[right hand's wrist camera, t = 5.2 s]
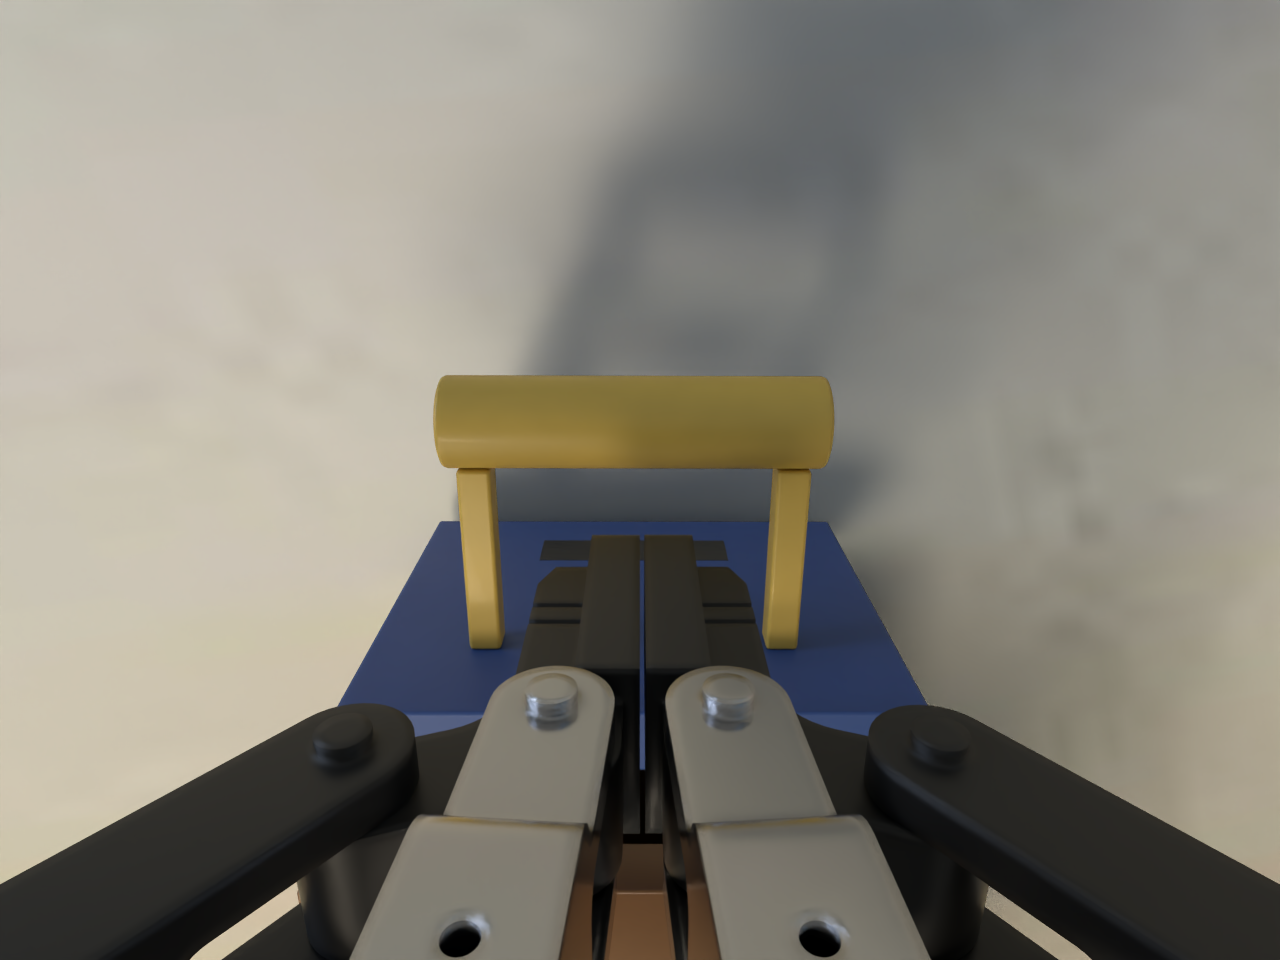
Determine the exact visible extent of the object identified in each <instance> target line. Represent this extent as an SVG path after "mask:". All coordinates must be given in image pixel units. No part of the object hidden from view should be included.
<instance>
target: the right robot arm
mask: <svg viewBox="0 0 1280 960" xmlns="http://www.w3.org/2000/svg"><path fill="white" fill-rule="evenodd" d="M644 720H645V833H663V898H664V906H665V914H666V923H667V931H668V939H669V947H670V955H671V960H1058V959H1057V958H1055V957H1054V956H1053V955H1051V954H1050V953H1048V952H1047V951H1046V950H1044V949H1043V948H1041V947H1040V946H1039V945H1037V944H1036V943H1034V942H1033V941H1032V940H1030V939H1029V938H1027V937H1026V936H1025V935H1023V934H1022V933H1020V932H1019V931H1018V930H1016V929H1015V928H1014V927H1012V926H1011V925H1009V924H1008V923H1007V922H1005V921H1004V920H1002V919H1001V918H1000V917H998V916H997V915H995V914H994V913H993V912H991V911H990V910H988V909H987V908H986V907H985V902H986V897H987V892H988V887H989V886H990V887H992V888H993V889H995V890H996V891H997V892H999V893H1000V894H1002V895H1003V896H1005V897H1006V898H1008V899H1009V900H1010V901H1012V902H1013V903H1015V904H1016V905H1018V906H1019V907H1021V908H1022V909H1023V910H1025V911H1026V912H1028V913H1029V914H1031V915H1032V916H1033V917H1035V918H1036V919H1038V920H1039V921H1041V922H1042V923H1044V924H1045V925H1046V926H1048V927H1049V928H1051V929H1052V930H1054V931H1055V932H1057V933H1058V934H1059V935H1061V936H1062V937H1064V938H1065V939H1067V940H1068V941H1069V942H1071V943H1072V944H1074V945H1075V946H1077V947H1078V948H1079V949H1081V950H1082V951H1083V952H1085V953H1086V954H1087V955H1088V956H1089V957H1090V958H1091V959H1092V960H1280V884H1278V883H1276V882H1274V881H1272V880H1271V879H1269V878H1267V877H1265V876H1263V875H1261V874H1260V873H1258V872H1256V871H1254V870H1252V869H1250V868H1248V867H1247V866H1245V865H1243V864H1241V863H1239V862H1237V861H1236V860H1234V859H1232V858H1230V857H1228V856H1226V855H1224V854H1223V853H1221V852H1219V851H1217V850H1215V849H1213V848H1212V847H1210V846H1208V845H1206V844H1204V843H1202V842H1200V841H1199V840H1197V839H1195V838H1193V837H1191V836H1189V835H1188V834H1186V833H1184V832H1182V831H1180V830H1178V829H1176V828H1175V827H1173V826H1171V825H1169V824H1167V823H1165V822H1164V821H1162V820H1160V819H1158V818H1156V817H1154V816H1152V815H1151V814H1149V813H1147V812H1145V811H1143V810H1141V809H1140V808H1138V807H1136V806H1134V805H1132V804H1130V803H1128V802H1127V801H1125V800H1123V799H1121V798H1119V797H1117V796H1116V795H1114V794H1112V793H1110V792H1108V791H1106V790H1104V789H1103V788H1101V787H1099V786H1097V785H1095V784H1093V783H1092V782H1090V781H1088V780H1086V779H1084V778H1082V777H1080V776H1079V775H1077V774H1075V773H1073V772H1071V771H1069V770H1068V769H1066V768H1064V767H1062V766H1060V765H1058V764H1056V763H1055V762H1053V761H1051V760H1049V759H1047V758H1045V757H1044V756H1042V755H1040V754H1038V753H1036V752H1034V751H1032V750H1031V749H1029V748H1027V747H1025V746H1023V745H1021V744H1020V743H1018V742H1016V741H1014V740H1012V739H1010V738H1008V737H1007V736H1005V735H1003V734H1001V733H999V732H997V731H996V730H994V729H992V728H990V727H988V726H986V725H984V724H983V723H981V722H979V721H977V720H975V719H973V718H971V717H969V716H967V715H964V714H962V713H959V712H956V711H953V710H950V709H946V708H942V707H936V706H930V705H906V706H899V707H896V708H892V709H889V710H887V711H885V712H883V713H881V714H880V715H879V716H878V717H876V718H875V720H874V721H873V722H872V723H871V726H870V729H869V733H868V736H865V735H861V734H856V733H851V732H847V731H842V730H837V729H833V728H830V727H826V726H823V725H820V724H817V723H814V722H812V721H810V720H808V719H806V718H804V717H802V716H800V715H798V714H797V713H796V712H795V710H794V707H793V705H792V702H791V700H790V698H789V696H788V694H787V692H786V691H785V690H784V689H783V688H782V686H780V685H779V684H778V683H777V682H776V681H774V680H773V679H771V677H770V674H769V670H768V666H767V662H766V658H765V654H764V650H763V646H762V642H761V638H760V634H759V630H758V627H757V624H756V619H755V615H754V611H753V607H752V603H751V599H750V595H749V591H748V587H747V584H746V583H745V582H744V581H743V580H742V579H741V578H740V577H739V576H738V575H737V574H736V573H734V572H733V571H732V570H731V569H730V568H729V567H697V564H696V557H695V550H694V543H693V536H692V535H644ZM623 834H640V535H592V538H591V545H590V553H589V560H588V567H555V568H554V569H553V570H552V571H551V572H550V573H549V574H548V575H547V576H546V577H545V578H543V579H542V580H541V581H540V582H539V583H538V585H537V589H536V593H535V597H534V601H533V607H532V610H531V614H530V618H529V624H528V626H527V630H526V634H525V638H524V642H523V646H522V651H521V655H520V659H519V663H518V667H517V671H516V675H514V676H512V677H511V678H509V679H507V680H506V681H504V682H503V683H502V684H501V685H500V686H498V688H497V689H496V690H495V691H494V692H493V694H492V696H491V698H490V700H489V702H488V705H487V707H486V710H485V712H484V715H483V717H482V718H481V719H479V720H477V721H475V722H472V723H470V724H467V725H464V726H461V727H457V728H454V729H450V730H445V731H441V732H436V733H431V734H427V735H422V736H418V737H415V731H414V727H413V724H412V722H411V720H410V719H409V718H408V717H407V716H406V715H405V714H404V713H403V712H401V711H399V710H397V709H395V708H393V707H390V706H386V705H382V704H375V703H358V704H349V705H343V706H338V707H335V708H331V709H328V710H325V711H322V712H319V713H317V714H315V715H313V716H311V717H309V718H307V719H305V720H303V721H301V722H299V723H297V724H296V725H294V726H292V727H290V728H288V729H286V730H284V731H283V732H281V733H279V734H277V735H275V736H273V737H272V738H270V739H268V740H266V741H264V742H262V743H260V744H259V745H257V746H255V747H253V748H251V749H249V750H248V751H246V752H244V753H242V754H240V755H238V756H236V757H235V758H233V759H231V760H229V761H227V762H225V763H224V764H222V765H220V766H218V767H216V768H214V769H212V770H211V771H209V772H207V773H205V774H203V775H201V776H200V777H198V778H196V779H194V780H192V781H190V782H188V783H187V784H185V785H183V786H181V787H179V788H177V789H176V790H174V791H172V792H170V793H168V794H166V795H164V796H163V797H161V798H159V799H157V800H155V801H153V802H152V803H150V804H148V805H146V806H144V807H142V808H140V809H139V810H137V811H135V812H133V813H131V814H129V815H128V816H126V817H124V818H122V819H120V820H118V821H116V822H115V823H113V824H111V825H109V826H107V827H105V828H104V829H102V830H100V831H98V832H96V833H94V834H92V835H91V836H89V837H87V838H85V839H83V840H81V841H80V842H78V843H76V844H74V845H72V846H70V847H68V848H67V849H65V850H63V851H61V852H59V853H57V854H56V855H54V856H52V857H50V858H48V859H46V860H44V861H43V862H41V863H39V864H37V865H35V866H33V867H32V868H30V869H28V870H26V871H24V872H22V873H20V874H19V875H17V876H15V877H13V878H11V879H9V880H8V881H6V882H4V883H2V884H0V960H190V959H191V958H192V956H193V955H195V954H196V953H197V952H198V951H199V950H200V949H201V948H202V947H204V946H205V945H206V944H208V943H209V942H211V941H212V940H213V939H215V938H216V937H218V936H219V935H221V934H222V933H224V932H225V931H226V930H228V929H229V928H231V927H232V926H234V925H235V924H236V923H238V922H239V921H241V920H242V919H244V918H245V917H247V916H248V915H249V914H251V913H252V912H254V911H255V910H257V909H258V908H260V907H261V906H262V905H264V904H265V903H267V902H268V901H270V900H271V899H272V898H274V897H275V896H277V895H278V894H280V893H281V892H283V891H284V890H285V889H287V888H288V887H290V886H291V885H293V884H294V883H295V882H297V885H298V890H299V895H300V901H301V903H300V904H299V905H297V906H296V907H294V908H293V909H292V910H290V911H289V912H287V913H286V914H285V915H283V916H282V917H280V918H279V919H278V920H276V921H275V922H273V923H272V924H271V925H269V926H268V927H267V928H265V929H264V930H262V931H261V932H260V933H258V934H257V935H255V936H254V937H253V938H251V939H250V940H248V941H247V942H246V943H244V944H243V945H241V946H240V947H239V948H237V949H236V950H234V951H233V952H232V953H230V954H229V955H228V956H226V957H225V958H223V959H222V960H609V955H610V947H611V939H612V931H613V923H614V914H615V906H616V898H617V872H618V871H619V868H620V865H621V862H622V854H623Z"/></svg>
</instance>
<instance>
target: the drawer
mask: <svg viewBox="0 0 1280 960" xmlns="http://www.w3.org/2000/svg"><path fill="white" fill-rule="evenodd" d="M433 425H434V439H435V446H436V450H437V454H438V457H439V460H440V462H441V464H442V465H443V466H444V467H447V468H459V469H458V471H457V473H456V477H457V490H458V502H459V515H460V521H442V522H440V523H439V525H438V527H437V528H436V530H435V532H434V534H433V536H432V537H431V539H430V541H429V543H428V545H427V546H426V548H425V550H424V552H423V554H422V555H421V557H420V559H419V561H418V563H417V564H416V566H415V568H414V570H413V572H412V573H411V575H410V577H409V579H408V581H407V582H406V584H405V586H404V588H403V590H402V591H401V593H400V595H399V597H398V599H397V600H396V602H395V604H394V606H393V608H392V609H391V611H390V613H389V615H388V616H387V618H386V620H385V622H384V624H383V625H382V627H381V629H380V631H379V633H378V634H377V636H376V638H375V640H374V642H373V643H372V645H371V647H370V649H369V651H368V652H367V654H366V656H365V658H364V660H363V661H362V663H361V665H360V667H359V669H358V670H357V672H356V674H355V676H354V678H353V679H352V681H351V683H350V685H349V687H348V688H347V690H346V692H345V694H344V696H343V697H342V699H341V701H340V703H339V705H338V706H343V705H349V704H358V703H375V704H382V705H386V706H390V707H393V708H395V709H397V710H399V711H401V712H403V713H404V714H405V715H406V716H407V717H408V718H409V719H410V720H411V722H412V724H413V727H414V731H415V737H418V736H422V735H427V734H431V733H436V732H441V731H445V730H450V729H454V728H457V727H461V726H464V725H467V724H470V723H472V722H475V721H477V720H479V719H481V718H482V717H483V715H484V712H485V710H486V707H487V705H488V702H489V700H490V698H491V696H492V694H493V692H494V691H495V690H496V689H497V688H498V686H500V685H501V684H502V683H503V682H504V681H506V680H507V679H509V678H511V677H512V676H514V675H516V671H517V667H518V663H519V659H520V655H521V651H522V646H523V642H524V638H525V634H526V630H527V626H528V624H529V618H530V614H531V610H532V607H533V601H534V597H535V593H536V589H537V585H538V583H539V582H540V581H541V580H542V579H543V578H545V577H546V576H547V575H548V574H549V573H550V572H551V571H552V570H553V569H554V568H555V567H588V560H589V553H590V545H591V538H592V535H640V834H623V844H663V833H645V720H644V535H692V536H693V543H694V550H695V557H696V564H697V567H729V568H730V569H731V570H732V571H733V572H734V573H736V574H737V575H738V576H739V577H740V578H741V579H742V580H743V581H744V582H745V583H746V584H747V587H748V591H749V595H750V599H751V603H752V607H753V611H754V615H755V619H756V624H757V627H758V630H759V634H760V638H761V642H762V646H763V650H764V654H765V658H766V662H767V666H768V670H769V674H770V677H771V679H773V680H774V681H776V682H777V683H778V684H779V685H780V686H782V688H783V689H784V690H785V691H786V692H787V694H788V696H789V698H790V700H791V702H792V705H793V707H794V710H795V712H796V713H797V714H798V715H800V716H802V717H804V718H806V719H808V720H810V721H812V722H814V723H817V724H820V725H823V726H826V727H830V728H833V729H837V730H842V731H847V732H851V733H856V734H861V735H865V736H868V733H869V729H870V726H871V723H872V722H873V721H874V720H875V718H876V717H878V716H879V715H880V714H881V713H883V712H885V711H887V710H889V709H892V708H896V707H899V706H906V705H927V703H926V701H925V699H924V698H923V696H922V694H921V692H920V690H919V689H918V687H917V685H916V683H915V681H914V679H913V678H912V676H911V674H910V672H909V670H908V668H907V667H906V665H905V663H904V661H903V659H902V658H901V656H900V654H899V652H898V650H897V648H896V647H895V645H894V643H893V641H892V639H891V637H890V636H889V634H888V632H887V630H886V628H885V627H884V625H883V623H882V621H881V619H880V617H879V616H878V614H877V612H876V610H875V608H874V607H873V605H872V603H871V601H870V599H869V597H868V596H867V594H866V592H865V590H864V588H863V586H862V585H861V583H860V581H859V579H858V577H857V576H856V574H855V572H854V570H853V568H852V566H851V565H850V563H849V561H848V559H847V557H846V555H845V554H844V552H843V550H842V548H841V546H840V545H839V543H838V541H837V539H836V537H835V535H834V534H833V532H832V530H831V528H830V526H829V525H828V523H827V522H808V510H809V498H810V486H811V472H810V470H809V469H820V468H823V467H825V466H826V464H827V462H828V460H829V457H830V454H831V450H832V444H833V436H834V403H833V396H832V391H831V388H830V385H829V382H828V380H827V379H826V378H824V377H822V376H531V375H446V376H444V377H442V378H441V379H440V381H439V383H438V386H437V389H436V394H435V400H434V413H433ZM495 468H697V469H773V474H772V490H771V505H770V520H769V522H533V521H498V509H497V492H496V476H495ZM338 706H337V707H338Z"/></svg>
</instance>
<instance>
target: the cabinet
mask: <svg viewBox="0 0 1280 960" xmlns="http://www.w3.org/2000/svg"><path fill="white" fill-rule="evenodd" d="M297 894H298V900H299V904H300V903H301V901H300V895H299V890H298V892H297ZM609 960H671V955H670V947H669V939H668V931H667V923H666V914H665V906H664V898H663V844H623V854H622V862H621V865H620V868H619V871H618V872H617V898H616V906H615V914H614V923H613V931H612V939H611V947H610V955H609Z"/></svg>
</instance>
